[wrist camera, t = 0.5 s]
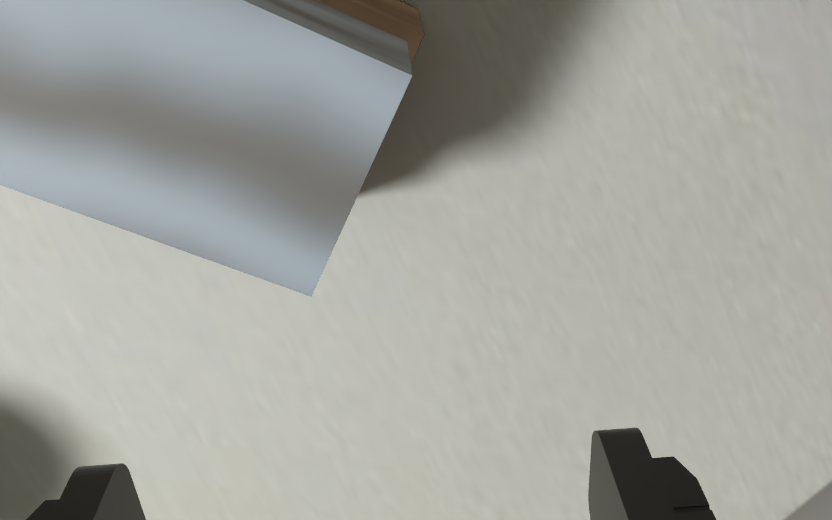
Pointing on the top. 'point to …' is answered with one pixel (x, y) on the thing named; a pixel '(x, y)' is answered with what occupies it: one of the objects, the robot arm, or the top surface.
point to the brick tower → (205, 118)
